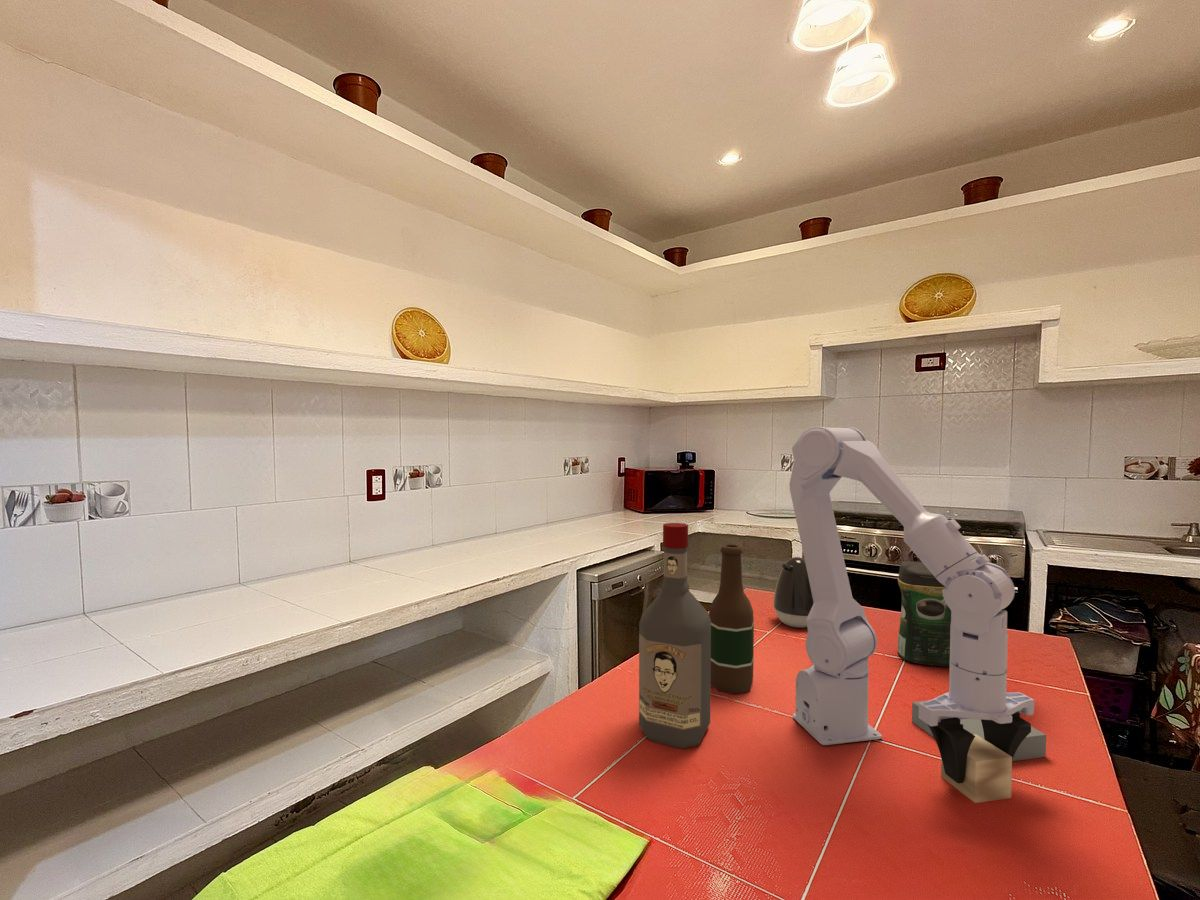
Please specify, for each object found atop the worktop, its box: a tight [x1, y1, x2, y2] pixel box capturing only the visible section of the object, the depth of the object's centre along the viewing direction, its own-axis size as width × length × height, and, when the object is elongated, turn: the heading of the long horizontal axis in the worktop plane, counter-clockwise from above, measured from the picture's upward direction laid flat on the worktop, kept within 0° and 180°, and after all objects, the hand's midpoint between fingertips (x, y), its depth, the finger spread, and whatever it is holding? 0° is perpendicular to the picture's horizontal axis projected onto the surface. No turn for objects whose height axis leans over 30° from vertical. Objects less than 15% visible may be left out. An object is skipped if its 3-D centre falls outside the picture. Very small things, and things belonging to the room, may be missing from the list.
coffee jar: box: [897, 560, 951, 667], centre depth 104 cm, size 10×8×19 cm
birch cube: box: [940, 734, 1013, 804], centre depth 67 cm, size 5×5×5 cm
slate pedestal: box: [911, 700, 1047, 762], centre depth 77 cm, size 11×11×3 cm
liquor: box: [638, 522, 712, 749], centre depth 79 cm, size 9×9×30 cm
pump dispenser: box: [773, 556, 814, 629], centre depth 123 cm, size 10×10×15 cm
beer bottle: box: [708, 543, 755, 695], centre depth 93 cm, size 8×8×24 cm
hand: (975, 775), depth 67 cm, fingers open, 5 cm apart
